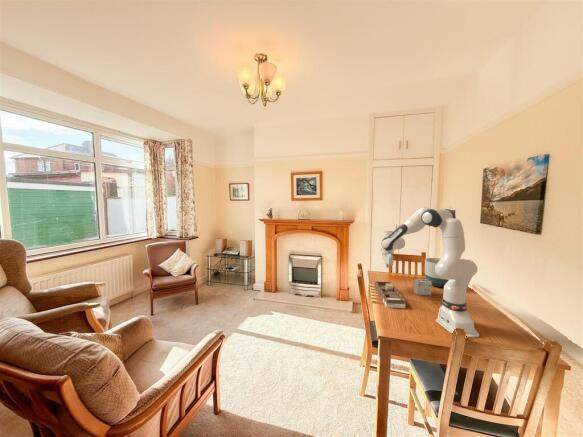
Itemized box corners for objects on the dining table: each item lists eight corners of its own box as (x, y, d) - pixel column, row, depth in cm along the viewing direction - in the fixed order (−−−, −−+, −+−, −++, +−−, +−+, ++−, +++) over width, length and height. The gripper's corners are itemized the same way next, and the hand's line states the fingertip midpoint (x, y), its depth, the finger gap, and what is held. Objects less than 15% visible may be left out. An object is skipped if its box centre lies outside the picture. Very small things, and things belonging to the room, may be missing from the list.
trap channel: (405, 308, 160) (405, 300, 160) (386, 307, 162) (386, 299, 161) (390, 288, 195) (390, 282, 194) (374, 287, 196) (375, 281, 196)
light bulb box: (427, 291, 187) (428, 278, 186) (431, 295, 181) (432, 282, 180) (413, 291, 188) (414, 278, 187) (417, 294, 182) (417, 281, 181)
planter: (446, 292, 186) (448, 266, 184) (420, 284, 202) (421, 260, 200) (455, 285, 199) (456, 261, 197) (429, 279, 215) (430, 256, 213)
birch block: (393, 291, 182) (393, 286, 181) (387, 290, 182) (387, 285, 182) (391, 288, 187) (391, 283, 186) (385, 288, 187) (385, 283, 187)
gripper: (396, 254, 178) (395, 271, 180) (388, 248, 199) (387, 263, 200) (387, 253, 179) (386, 271, 181) (380, 247, 199) (380, 263, 201)
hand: (387, 267), depth 190 cm, fingers closed
